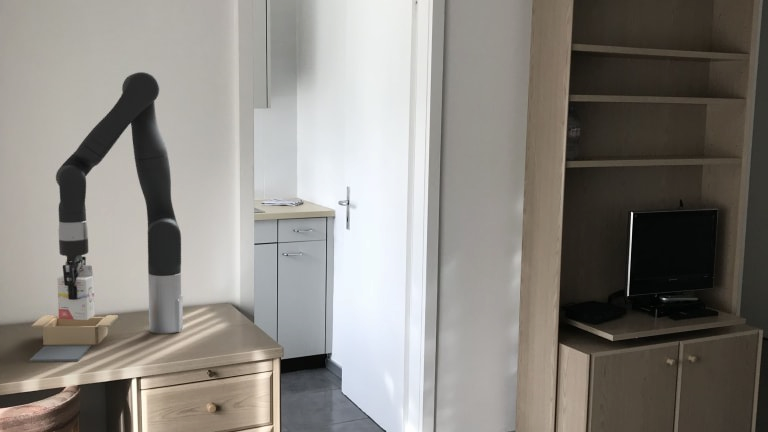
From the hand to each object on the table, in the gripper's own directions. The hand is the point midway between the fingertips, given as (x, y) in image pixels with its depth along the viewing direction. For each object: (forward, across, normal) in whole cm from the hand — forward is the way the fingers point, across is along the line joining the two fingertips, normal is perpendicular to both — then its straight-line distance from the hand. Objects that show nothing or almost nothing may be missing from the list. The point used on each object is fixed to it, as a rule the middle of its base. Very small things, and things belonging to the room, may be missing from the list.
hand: (76, 296), depth 221 cm
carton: (+12, 0, 0) cm, 12 cm away
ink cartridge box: (+6, 0, 0) cm, 6 cm away
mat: (+12, -14, 0) cm, 19 cm away
